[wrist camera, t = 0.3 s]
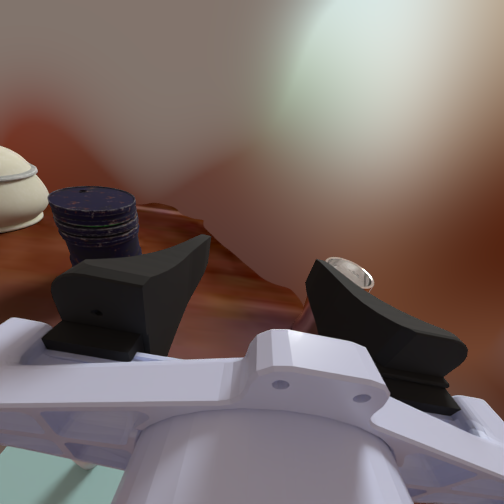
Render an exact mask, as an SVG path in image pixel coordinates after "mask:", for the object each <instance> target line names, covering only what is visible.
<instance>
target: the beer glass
mask: <svg viewBox="0 0 504 504" xmlns="http://www.w3.org/2000/svg"><path fill="white" fill-rule="evenodd" d="M326 262H327V263H329V264H330V265H332V266H333V267H334V268H336V269H337V270H338V271H340V272H341V273H342V274H343V275H345V276H346V277H347V278H349V279H350V280H351V281H352V282H354V283H355V284H357V285H358V286H359V287H361V288H362V289H364V290H365V291H367V292H368V293H369V291H370V290H371V288H372V287H373V286H374V280H373V278H372V277H371V275H370V274H369V273H368V272H367V271H365V270H364V269H363V268H362V267H360V266H359V265H357V264H355V263H353V262H351V261H349V260H346V259H342V258H338V257H331V258H328V259H327V260H326ZM291 330H293V331H298V332H304V333H309V334H314V335H318V330H317V326H316V323H315V319H314V316H313V313H312V310H311V307H310V303H309V300H308V296H307V298H306V301H305V305H304V308H303V311H302V313H301V315H300V316H299V317H298V318H297V319H296V320H295V321H294V323H293V324H292V328H291Z"/></svg>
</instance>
